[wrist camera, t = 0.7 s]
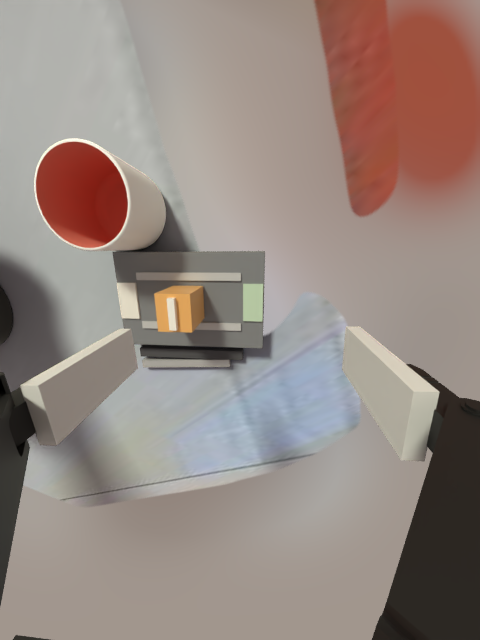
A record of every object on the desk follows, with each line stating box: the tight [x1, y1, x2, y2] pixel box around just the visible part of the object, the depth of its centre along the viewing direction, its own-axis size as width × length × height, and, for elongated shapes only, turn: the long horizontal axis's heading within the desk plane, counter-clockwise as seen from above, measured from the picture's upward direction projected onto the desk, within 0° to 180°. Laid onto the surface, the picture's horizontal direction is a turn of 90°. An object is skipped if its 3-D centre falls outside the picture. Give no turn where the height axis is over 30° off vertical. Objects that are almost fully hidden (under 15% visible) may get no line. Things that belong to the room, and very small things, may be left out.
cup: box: [34, 138, 166, 251], centre depth 28 cm, size 10×10×10 cm
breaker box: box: [113, 251, 265, 348], centre depth 34 cm, size 20×13×3 cm, turn 90°
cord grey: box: [142, 358, 230, 367], centre depth 38 cm, size 14×1×1 cm, turn 93°
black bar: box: [140, 345, 243, 360], centre depth 38 cm, size 16×1×1 cm, turn 90°
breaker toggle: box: [154, 286, 205, 333], centre depth 30 cm, size 4×4×7 cm
